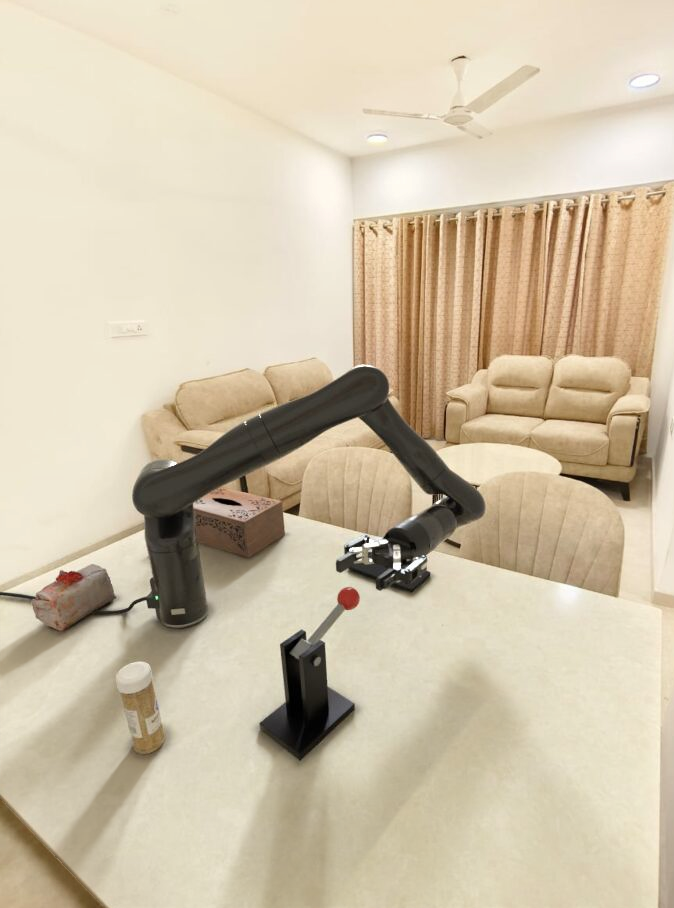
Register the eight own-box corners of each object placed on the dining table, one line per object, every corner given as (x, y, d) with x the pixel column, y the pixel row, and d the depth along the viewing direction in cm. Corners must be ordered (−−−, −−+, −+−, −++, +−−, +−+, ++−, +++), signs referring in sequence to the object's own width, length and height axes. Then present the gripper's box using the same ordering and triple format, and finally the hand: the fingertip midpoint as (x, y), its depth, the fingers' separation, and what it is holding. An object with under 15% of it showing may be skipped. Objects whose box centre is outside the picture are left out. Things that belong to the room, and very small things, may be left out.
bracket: (315, 684, 86) (310, 612, 80) (355, 709, 80) (352, 634, 75) (259, 729, 77) (250, 652, 72) (300, 761, 72) (292, 680, 66)
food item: (60, 637, 98) (47, 594, 94) (34, 626, 101) (21, 585, 97) (120, 600, 109) (110, 561, 106) (95, 591, 112) (85, 553, 109)
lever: (349, 593, 83) (343, 579, 81) (366, 601, 81) (360, 587, 79) (292, 661, 75) (284, 648, 73) (309, 672, 73) (301, 659, 71)
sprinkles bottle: (169, 745, 74) (153, 674, 69) (136, 760, 72) (117, 688, 67) (162, 725, 78) (147, 655, 73) (130, 738, 76) (112, 668, 71)
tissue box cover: (177, 535, 137) (171, 502, 134) (216, 515, 149) (212, 484, 145) (248, 557, 126) (244, 522, 122) (285, 534, 137) (282, 501, 134)
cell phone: (368, 554, 127) (368, 550, 126) (431, 575, 117) (431, 572, 117) (347, 569, 120) (347, 566, 119) (412, 593, 110) (412, 589, 110)
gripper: (383, 509, 95) (323, 542, 83) (448, 530, 86) (392, 570, 75) (384, 544, 97) (326, 581, 86) (447, 568, 89) (392, 612, 77)
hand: (356, 576), depth 80 cm, fingers open, 8 cm apart
